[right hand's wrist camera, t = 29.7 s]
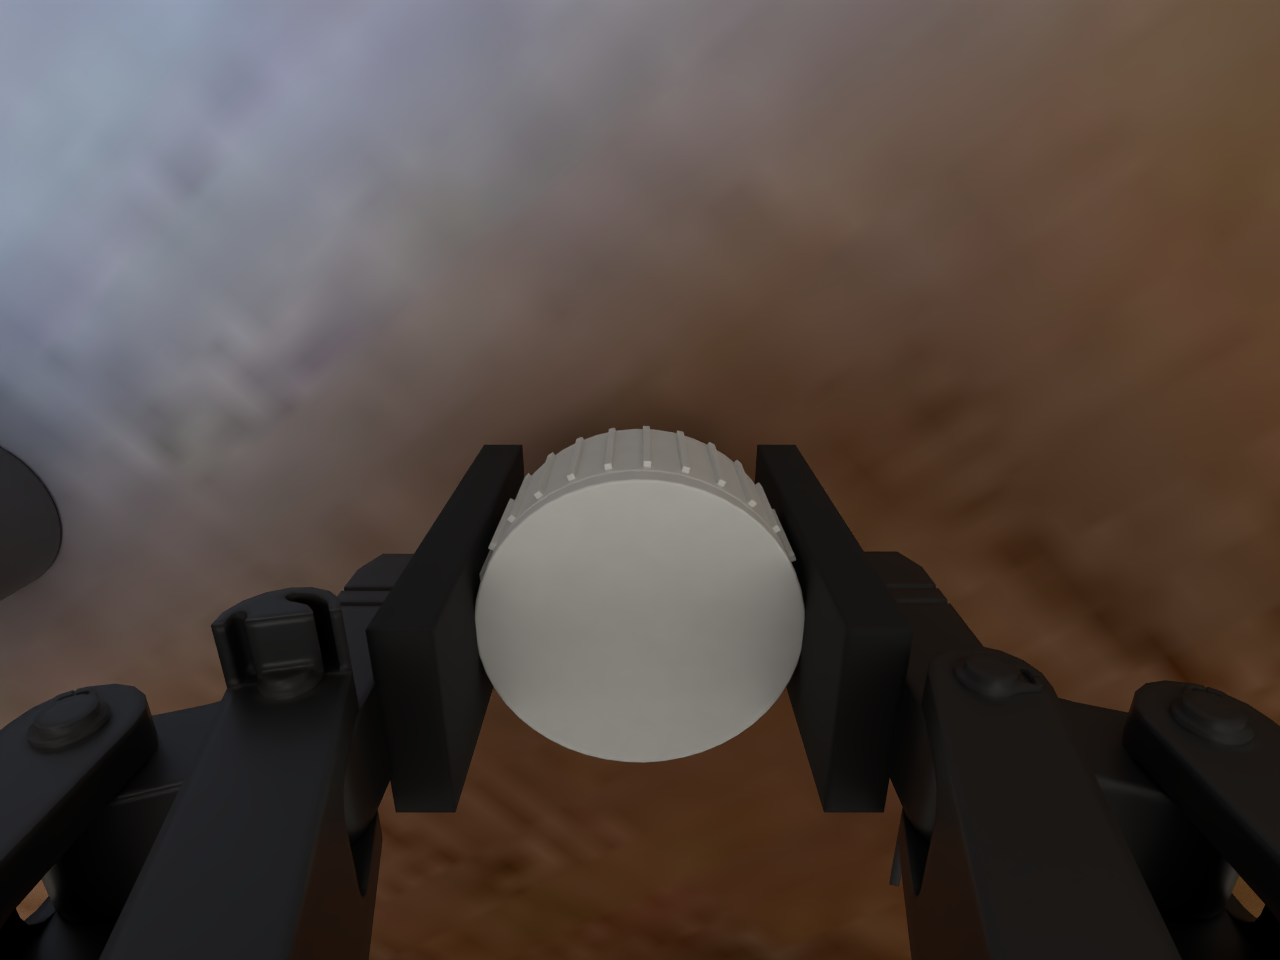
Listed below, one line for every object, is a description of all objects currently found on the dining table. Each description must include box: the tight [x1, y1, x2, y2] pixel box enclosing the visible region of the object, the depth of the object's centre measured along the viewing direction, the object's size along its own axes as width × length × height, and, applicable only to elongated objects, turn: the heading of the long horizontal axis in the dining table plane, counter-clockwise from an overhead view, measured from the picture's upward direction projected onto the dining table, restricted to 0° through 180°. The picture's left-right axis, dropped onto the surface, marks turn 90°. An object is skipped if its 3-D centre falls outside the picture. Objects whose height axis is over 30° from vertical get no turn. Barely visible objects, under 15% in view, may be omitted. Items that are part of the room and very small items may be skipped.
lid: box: [475, 426, 805, 762], centre depth 11 cm, size 5×5×2 cm
